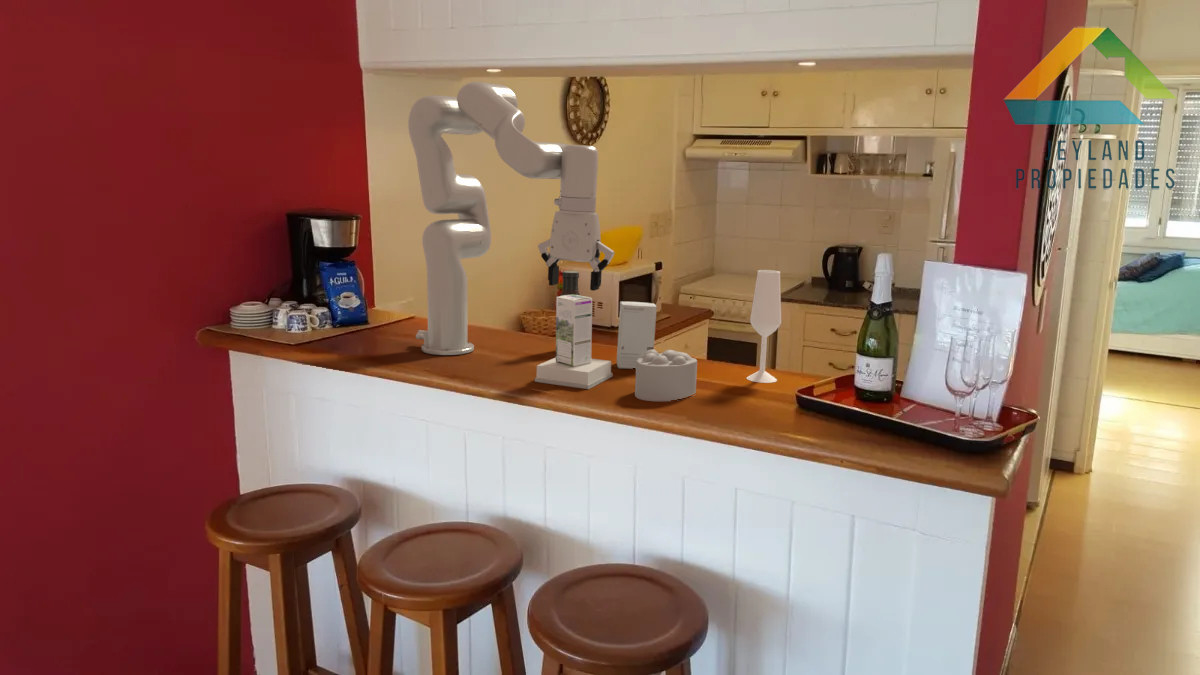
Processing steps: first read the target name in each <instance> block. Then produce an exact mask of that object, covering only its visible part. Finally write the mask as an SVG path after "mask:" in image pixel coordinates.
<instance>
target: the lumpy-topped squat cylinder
mask: <svg viewBox="0 0 1200 675" xmlns="http://www.w3.org/2000/svg"><path fill="white" fill-rule="evenodd" d="M697 372H698V360H697V359H696V358H695V357H694V358H693V357H691V355H690V354H688V353H686V352H682V351H676V350H673V349H666V350H665V351H663V352H660V353H659V352H658V351H657V350H656V349H655V348H654V349H651V350H648V351H646V352H645V354H644V356H641V357H640V358H639V359H638V360H637V361H636V369H635V382H634V383H635V384H634V385H635V386H634V396H635V398H637V399H639V400H642V401H646V402H647V401H648V402H649V401H650V402H672V401H671V400H677V399H682V398H685V397H688V396H691V395H693V394H695V393H696V392H697V390H696V389H697V378H698V377H697V374H698V373H697ZM696 394H697V393H696ZM696 394H695V395H696ZM682 400H683V399H682ZM677 401H678V400H677Z"/></svg>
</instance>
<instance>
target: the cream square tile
mask: <svg viewBox="0 0 1200 675" xmlns="http://www.w3.org/2000/svg"><path fill="white" fill-rule="evenodd" d="M613 376H614V375H613V372H612V361H611V360H605V359H597V358H591V363H589V364H585V365H581V366H569V365H565V364H562V363H558V362H556V357H554V358H551V359H549V360H547V361H544V362H541V363H540V364H538V365H536V377H534V382H536V383H541V384H548V385H549V384H550V385H557V386H563V387H571V388H577V389H583V390H585V389H586V390H590V389H592V388H593V387H595V386H597V385H599V384H601V383H603V382H605V381H607V380H609V379H610V378H613Z"/></svg>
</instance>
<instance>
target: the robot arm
mask: <svg viewBox="0 0 1200 675" xmlns="http://www.w3.org/2000/svg"><path fill="white" fill-rule="evenodd" d="M518 107H519V103H518V99H517V95H516V94H515V93H514V91H513V90H512V89H511V88H509V87H508V86H506V85H503V84H498V83H490V82H484V81H483V82H482V81H473V82H472V81H470V82H468V83H466V84H464V85H463V86H461V88H460V89H459V91H458V92H457V95H456V96H450V95H442V94H441V95H440V94H439V95H436V94H435V95H434V94H433V95H426V96H423V97H420V98H418V99H417V100H416V101H415V102H414V104H413V105H412V107H411V108H410V110H409V115H408V122H407V124H408V126H407V128H408V133H409V138H410V142H411V143H412V148H413V151H414V154H415V159H416V164H417V170H418V178H419V183H420V184H419V185H420V191H421V197H422V200H423V201H422V202H423V205H424V208H425V209H426V211H427V212H429V213H431V214H433V215H435V214H436V215H457V216H458V219H457V218H456V219H455V218H454V219H441V220H436V221H433V222H431V223H430V224H428V225H427V226H426V227H425V229H424V231H423V233H422V239H421V241H422V243H421V244H422V248H423V253H424V257H425V264H426V284H427V285H426V287H427V288H426V289H427V330H422V329H418V330H417V332H416V335H415V339H417V340H423V342H424V343H423V344H421V351H422V352H423V353H425V354H429V355H437V356H457V355H466V354H469V353H472V352H473V351H474V350H475V345H474V344H473V343H472V342H468V276H467V272H466V270H465V268H464V266H463V263H462V262H461V260H463V259H472V258H473V259H474V258H475V259H476V258H479V257H482V256H484V255H486V254H487V253H488V251H489V250H490V248H491V244H492V230H491V224H490V217H489V215H490V214H489V210H488V203H487V202H488V201H487V198H486V192H485V188H484V186H483V185H482V183H481V182H480V180H479V179H478V178H477V177H475V176H473V175H471V174H464V173H462V174H461V173H457V171H456V169H455V165H454V164H455V163H454V156H453V153H452V151H451V149H450V146H449V145H448V144H447V141H445V139H444V138H443V137H442V134H450V135H464V136H467V135H469V136H470V135H477V134H480V133H482V132H484V133H485V134H487V136H489V137H490V138H491V139H492V140H494V145H495V148H496V151H497V154H498V156H499V157H500V159H501V160H502V161H503V162H504V163H505V164H507V166H509V167H510V168H511V169H512V170H514V171H515V172H517V173H518V174H520V175H521V176H523V177H525V178H527V179H531V180H533V179H535V180H537V179H539V180H540V179H541V180H542V179H543V180H546V179H547V180H560V188H559V190H560V191H559V196H558V198H554V201H553V204H554V205H556V206H558V209H559V210H556V211H555V212H554V216H553V221H552V224H551V225H552V226H551V232H550V238H549V239H546V240H545V241H542V242H541V243H538V245H537V247H538V250H539V253H540V254H541V255H540V256H541V258H542V260H543V261H544V263H545V265H546V266H547V268H548V269H547V272H548V273H547V280H548V286H556V285H558V284H559V282H560V281H559V279H560V278H559V275H560V266H559V265H558V263H559V262H560V261H569V262H578V263H579V262H580V263H588V264H589V265H590V267H591V268H592V269H593V271H591V272H590V286H589V290H590V292H591V291H592V292H593V291H597V290H599V289H600V287H601V285H602V274H603V273H602V272H603V271H604V270H605V268H606V267H607V266H608V265H609V264H610V263H611V261H612V259H613V258H614V255H615V254H616V253H615V251H614V250H613V249H611V248H610V247H608V246H607V245H605V244H604V243H602V241H601V240H602V239H601V237H602V236H601V224H600V217H599V213H596V212H597V211H596V210H597V208H596V207H597V188H598V187H597V186H598V168H599V167H598V166H599V151H598V149H597V148H596V147H595V146H591V145H584V144H583V145H581V144H567V143H563V142H562V143H561V142H550V141H549V142H548V141H534V140H532V139H530V138H528V136H526V135H525V134H524V133H523V132H524V129H525V124H526V118H525V114H524V113H523V112H522V111H521V110H520V109H519V108H518ZM548 248H549V251H548ZM601 252H602V253H603V254H604V258H603V259H602V260H600V257H601Z"/></svg>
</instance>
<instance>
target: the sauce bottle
mask: <svg viewBox="0 0 1200 675" xmlns="http://www.w3.org/2000/svg"><path fill="white" fill-rule="evenodd" d="M561 275H562V276H561V277H562V286H561V288H562V291H561V292H560V294H559V295H558V297H559V296H563V295H579V296H581V295H580V292H579V279H580V278H579V277H580V272H579V271H575V270H570V271H569V270H567V271H566V270H565V271H564V270H563V271H562V274H561Z"/></svg>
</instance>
